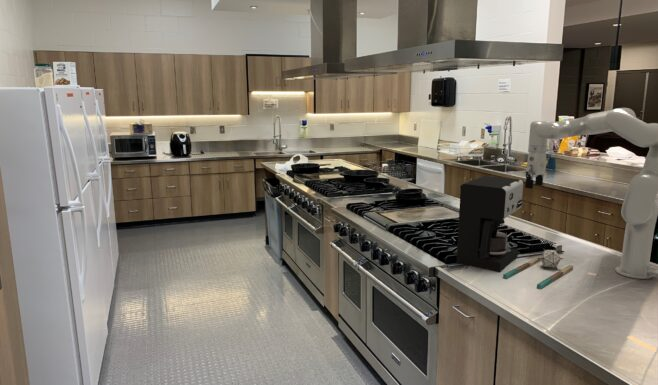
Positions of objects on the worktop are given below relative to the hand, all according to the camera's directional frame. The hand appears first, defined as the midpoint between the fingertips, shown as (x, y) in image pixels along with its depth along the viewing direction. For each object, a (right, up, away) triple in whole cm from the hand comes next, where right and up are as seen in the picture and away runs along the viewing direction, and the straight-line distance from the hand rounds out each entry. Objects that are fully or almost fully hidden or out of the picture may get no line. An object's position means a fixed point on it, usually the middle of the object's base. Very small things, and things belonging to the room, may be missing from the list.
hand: (533, 186), depth 219 cm
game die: (-1, -34, -18) cm, 39 cm away
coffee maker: (-25, -33, -10) cm, 42 cm away
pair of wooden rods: (-9, -35, -25) cm, 44 cm away
